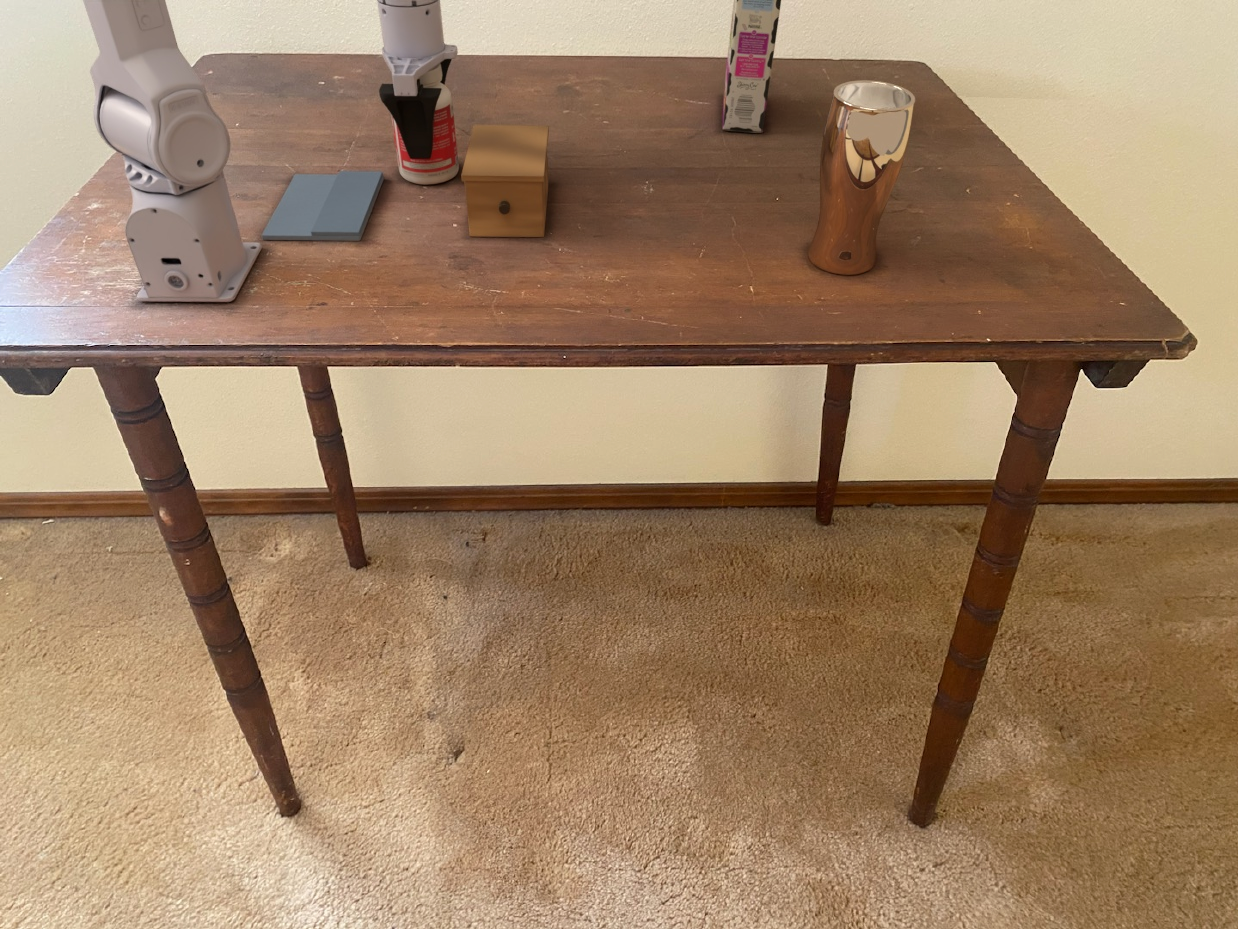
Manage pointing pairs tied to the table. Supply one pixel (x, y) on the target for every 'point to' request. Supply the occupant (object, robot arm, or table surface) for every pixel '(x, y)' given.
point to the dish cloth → (325, 207)
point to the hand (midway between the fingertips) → (425, 141)
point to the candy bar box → (749, 64)
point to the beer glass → (859, 171)
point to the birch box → (506, 180)
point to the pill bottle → (444, 140)
